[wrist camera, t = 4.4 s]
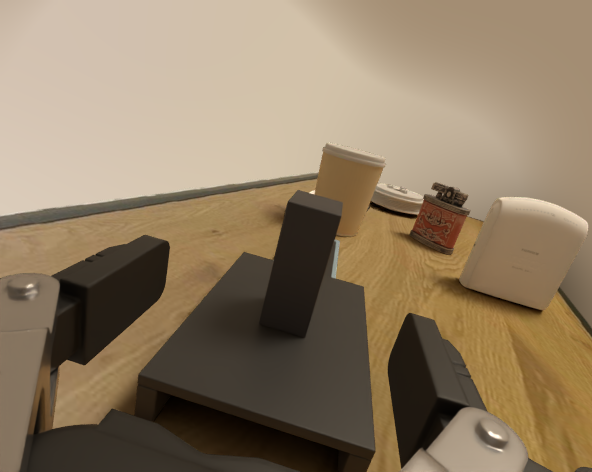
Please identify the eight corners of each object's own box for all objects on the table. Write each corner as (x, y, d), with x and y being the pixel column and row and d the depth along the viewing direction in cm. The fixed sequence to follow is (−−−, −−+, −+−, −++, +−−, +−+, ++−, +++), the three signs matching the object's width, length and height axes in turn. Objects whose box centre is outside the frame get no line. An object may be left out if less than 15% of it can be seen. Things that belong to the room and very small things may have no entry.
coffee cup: (370, 232, 55) (395, 159, 51) (347, 243, 47) (374, 158, 43) (321, 213, 59) (341, 144, 55) (293, 220, 52) (313, 140, 48)
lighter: (456, 254, 56) (481, 195, 52) (444, 254, 54) (470, 194, 50) (417, 234, 62) (437, 180, 58) (405, 234, 60) (425, 178, 56)
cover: (358, 491, 15) (447, 290, 12) (133, 416, 16) (155, 207, 13) (355, 311, 30) (394, 199, 27) (238, 277, 31) (261, 163, 28)
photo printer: (461, 288, 42) (505, 192, 38) (454, 275, 46) (493, 186, 42) (550, 317, 40) (606, 219, 36) (535, 300, 44) (584, 210, 40)
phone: (332, 291, 33) (335, 283, 33) (268, 273, 33) (270, 264, 33) (337, 247, 45) (339, 240, 45) (290, 233, 46) (292, 227, 45)
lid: (416, 210, 83) (423, 190, 82) (423, 223, 72) (432, 200, 70) (365, 196, 85) (372, 176, 83) (364, 206, 73) (372, 183, 71)
